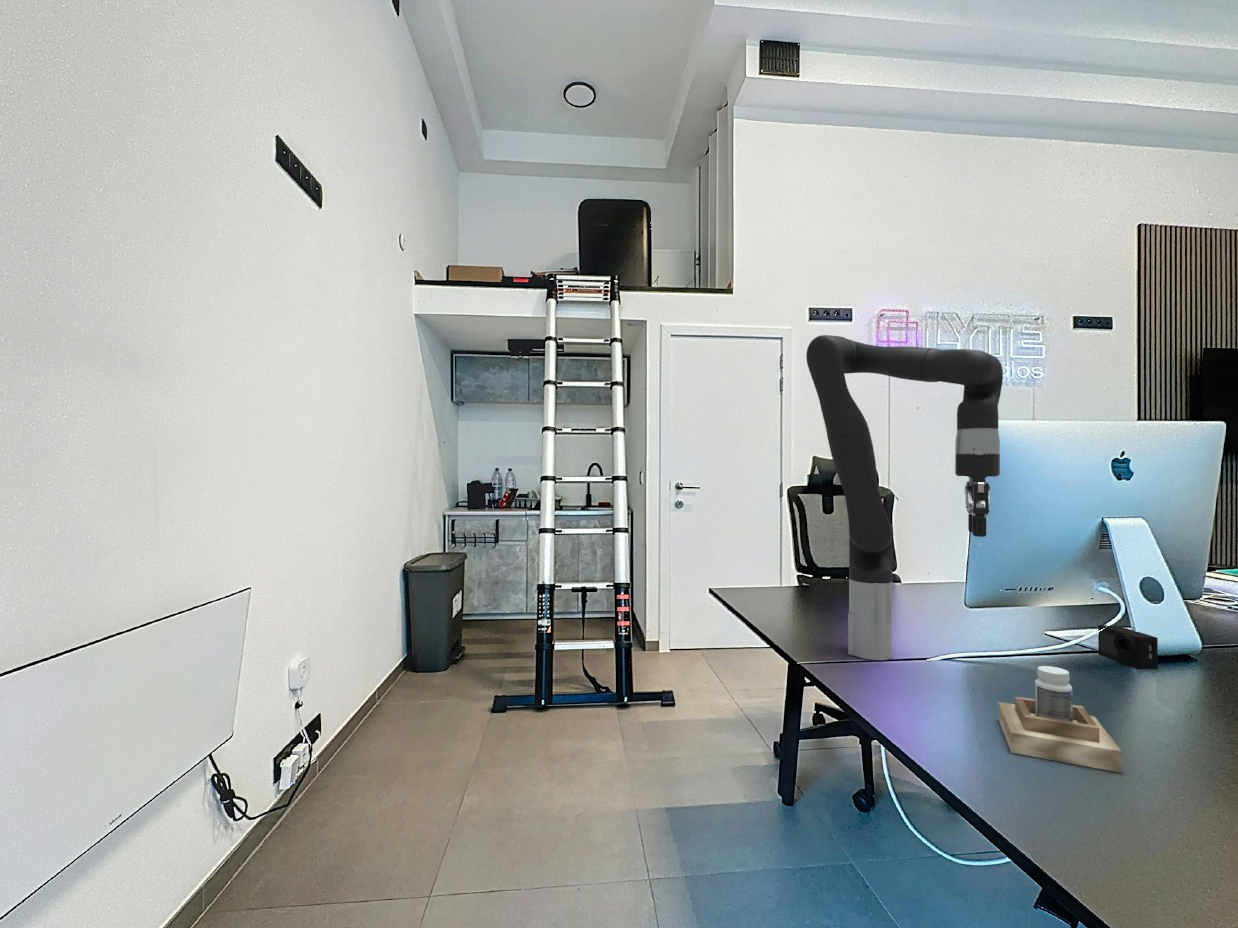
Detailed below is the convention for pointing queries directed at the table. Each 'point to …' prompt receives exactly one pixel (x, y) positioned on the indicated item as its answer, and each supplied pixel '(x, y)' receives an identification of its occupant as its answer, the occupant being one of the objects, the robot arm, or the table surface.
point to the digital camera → (1128, 647)
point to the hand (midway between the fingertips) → (976, 534)
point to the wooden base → (1058, 736)
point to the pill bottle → (1053, 694)
